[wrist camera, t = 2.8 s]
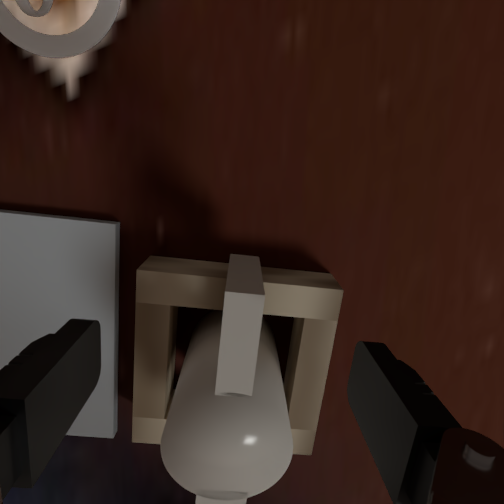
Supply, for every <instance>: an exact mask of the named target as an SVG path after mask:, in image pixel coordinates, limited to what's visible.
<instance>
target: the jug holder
mask: <svg viewBox="0 0 504 504" xmlns="http://www.w3.org/2000/svg"><path fill="white" fill-rule="evenodd" d="M228 267H229V263H221V262H211V261H201V260H191V259H181V258H171V257H161V256H151V255H150V257H149V258H148V259H147V260H146V261H145V262H144V263H143V264H142V265H141V266H140V267H139V268H138V269H137V273H136V311H135V348H134V386H133V423H132V442H137V443H150V444H161V437H162V434H163V430H164V427H165V423H166V420H167V417H168V413H169V410H170V407H171V403H172V400H173V396H174V393H175V390H176V389H173V385H174V369H175V352H176V336H177V320H178V306H182V307H192V308H203V309H214V310H223V307H224V297H225V288H226V281H227V274H228ZM261 272H262V278H263V284H264V291H265V301H264V309H263V314H267V315H278V316H288V317H294V321H293V327H292V334H291V340H290V346H289V353H288V359H287V365H286V372H285V378H284V384H283V387H284V393H285V399H286V404H287V410H288V416H289V421H290V427H291V433H292V438H293V454H302V455H311V454H312V449H313V444H314V439H315V434H316V429H317V424H318V418H319V413H320V408H321V403H322V398H323V393H324V388H325V383H326V377H327V372H328V367H329V362H330V357H331V352H332V347H333V342H334V337H335V331H336V326H337V321H338V316H339V311H340V306H341V301H342V296H343V289H342V287H341V286H340V285H339V284H338V282H337V281H336V280H335V278H334V277H333V276H332V274H329V273H320V272H310V271H300V270H290V269H280V268H270V267H261Z"/></svg>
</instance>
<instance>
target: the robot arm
mask: <svg viewBox="0 0 504 504" xmlns="http://www.w3.org/2000/svg"><path fill="white" fill-rule="evenodd" d="M100 372H101V327H100V323H99V321H98V320H87V319H74V318H72V319H70V320H69V321H68V322H67V323H65V324H64V325H63V326H62V327H61V328H60V329H59V330H58V331H57V332H56V333H55V334H51V333H49V334H47V335H45V336H43V337H41V338H39V339H37V340H35V341H33V342H31V343H30V344H29V345H28V346H27V347H26V348H24V349H23V350H22V351H21V352H20V353H19V356H18V355H17V356H15V357H14V358H13V359H12V360H11V361H10V362H9V364H8V365H5V366H4V367H3V368H2V369H1V370H0V504H3V502H2V500H3V499H4V498H5V496H6V495H7V493H8V492H9V490H10V489H11V488H12V487H19V488H32V487H33V486H34V484H35V483H36V481H37V480H38V478H39V476H40V475H41V473H42V472H43V470H44V468H45V467H46V465H47V464H48V462H49V460H50V459H51V457H52V456H53V454H54V453H55V451H56V449H57V448H58V446H59V445H60V443H61V441H62V440H63V438H64V437H65V435H66V433H67V432H68V430H69V429H70V427H71V426H72V424H73V422H74V421H75V419H76V418H77V416H78V414H79V413H80V411H81V410H82V408H83V406H84V405H85V403H86V402H87V400H88V398H89V397H90V395H91V394H92V392H93V391H94V389H95V387H96V385H97V383H98V380H99V377H100ZM347 392H348V400H349V404H350V407H351V409H352V411H353V413H354V416H355V418H356V420H357V422H358V425H359V427H360V429H361V431H362V434H363V436H364V438H365V440H366V443H367V445H368V447H369V449H370V452H371V454H372V456H373V458H374V461H375V463H376V465H377V467H378V470H379V472H380V474H381V476H382V479H383V481H384V483H385V486H386V488H387V490H388V492H389V495H390V497H391V499H392V501H393V504H504V449H503V448H502V447H501V446H500V445H498V444H497V443H496V442H494V441H493V440H491V439H490V438H488V437H486V436H484V435H482V434H480V433H478V432H475V431H472V430H469V429H465V428H462V427H461V426H460V424H459V423H458V422H457V421H456V419H455V418H454V417H453V416H452V415H451V413H450V412H449V411H448V410H447V409H446V407H445V406H444V405H443V404H442V402H441V401H440V400H439V399H438V398H437V396H436V395H434V394H433V392H432V390H431V389H430V388H429V387H428V385H425V382H424V381H423V379H422V378H421V377H420V376H419V374H418V373H417V372H416V371H415V370H414V369H412V368H411V367H409V366H408V365H407V364H405V363H404V362H403V361H401V360H397V359H396V358H395V356H394V355H393V354H392V353H391V351H390V350H389V349H388V347H387V346H386V345H385V344H384V343H377V342H364V341H359V342H358V343H357V345H356V347H355V352H354V356H353V361H352V366H351V371H350V376H349V381H348V388H347Z"/></svg>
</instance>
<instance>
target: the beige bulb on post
mask: <svg viewBox="0 0 504 504" xmlns="http://www.w3.org/2000/svg"><path fill="white" fill-rule="evenodd" d="M264 301H265V291H264V284H263V278H262V272H261V266H260V259H259V257H257V256H248V255H238V254H230V260H229V267H228V274H227V281H226V288H225V297H224V307H223V310H213V311H211V312H209V313H208V314H206V315H205V316H204V317H202V318H201V319H200V321H199V322H198V323H197V325H196V326H195V328H194V330H193V333H192V336H191V339H190V343H189V346H188V349H187V353H186V356H185V359H184V363H183V366H182V370H181V373H180V376H179V380H178V383H177V386H176V390H175V393H174V396H173V400H172V403H171V407H170V410H169V413H168V417H167V420H166V423H165V427H164V430H163V434H162V437H161V444H160V447H161V456H162V460H163V463H164V465H165V467H166V469H167V471H168V472H169V474H170V475H171V477H172V478H173V479H174V480H175V481H176V482H177V483H178V484H180V485H181V486H182V487H183V488H185V489H187V490H188V491H190V492H192V493H194V494H196V504H246V501H247V498H248V497H251V496H254V495H257V494H259V493H261V492H263V491H265V490H267V489H268V488H270V487H271V486H272V485H274V484H275V483H276V482H277V481H278V480H279V479H280V478H281V477H282V476H283V474H284V473H285V471H286V470H287V468H288V466H289V464H290V461H291V458H292V454H293V438H292V433H291V427H290V421H289V416H288V410H287V404H286V399H285V393H284V387H283V382H282V376H281V370H280V364H279V359H278V353H277V347H276V342H275V337H274V333H273V330H272V328H271V326H270V325H269V323H268V322H267V321H266V320H265V319H264V318H263V317H262V316H263V309H264Z"/></svg>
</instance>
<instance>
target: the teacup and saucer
mask: <svg viewBox="0 0 504 504" xmlns="http://www.w3.org/2000/svg"><path fill="white" fill-rule="evenodd" d="M16 2H17V4H18V6H19V7H20V9H21V10H22V11H23V12H24V13H26V14H27V15H30V16H34V17H41V16H44V15H46V14H47V13H48V12H49V11H50V9H51V7H52V4H53V0H43V3H42V6H41V8H40V9H39V10H38V11H35V10H34V9H33V8H32V6H31V5H30V3H29V1H28V0H16ZM120 2H121V0H99V1H98V4H97V7H96V9H95V11H94V13H93V15H92V16H91V18H90V19H89V20H88V21H87V22H86V23H85V24H84V25H83V26H82V27H80V28H79V29H77V30H76V31H73V32H71V33H68V34H64V35H46V34H42V33H39V32H36V31H34V30H32V29H30V28H28V27H26V26H25V25H23V24H22V23H21V22H19V21H18V20H17V19H16V18H15V17H14V16H13V15H12V14H11V13H10V12H9V10H8V9H7V8H6V6H5V5H4V3H3V2H2V0H0V32H1V33H2V34H3V35H4V36H5V37H6V38H7V39H9V40H10V41H11V42H13V43H14V44H15V45H17V46H19V47H20V48H22V49H24V50H26V51H28V52H31V53H33V54H36V55H39V56H44V57H49V58H66V57H72V56H76V55H79V54H81V53H84V52H86V51H87V50H89V49H91V48H92V47H94V46H95V45H96V44H98V43H99V42H100V41H101V40H102V39H103V38H104V36H105V35H106V34H107V33H108V31H109V30H110V28H111V26H112V25H113V23H114V21H115V18H116V16H117V13H118V10H119V7H120Z"/></svg>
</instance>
